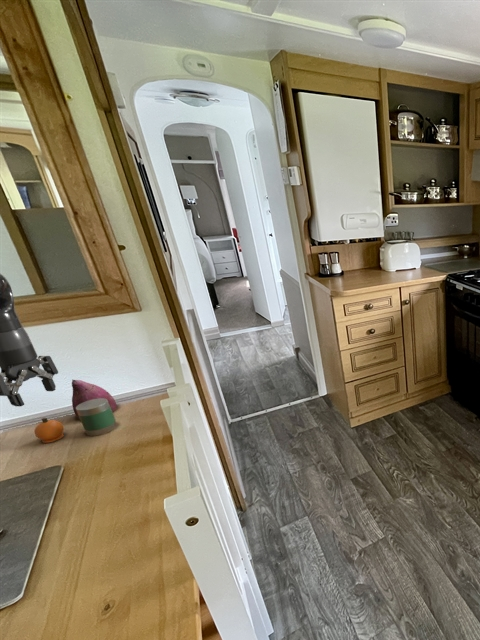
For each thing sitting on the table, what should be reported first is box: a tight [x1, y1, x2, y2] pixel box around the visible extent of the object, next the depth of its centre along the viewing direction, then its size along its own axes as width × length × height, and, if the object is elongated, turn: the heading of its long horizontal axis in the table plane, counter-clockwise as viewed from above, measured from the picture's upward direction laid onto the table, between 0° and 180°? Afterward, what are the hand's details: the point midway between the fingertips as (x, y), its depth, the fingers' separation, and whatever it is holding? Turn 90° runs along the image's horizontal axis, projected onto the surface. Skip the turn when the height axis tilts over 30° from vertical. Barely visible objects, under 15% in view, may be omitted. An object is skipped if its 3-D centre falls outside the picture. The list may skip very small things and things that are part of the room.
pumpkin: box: [34, 417, 65, 444], centre depth 110 cm, size 6×6×7 cm
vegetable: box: [71, 379, 118, 421], centre depth 122 cm, size 10×10×15 cm
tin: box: [76, 398, 118, 437], centre depth 115 cm, size 7×7×9 cm
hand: (35, 398), depth 107 cm, fingers open, 8 cm apart
